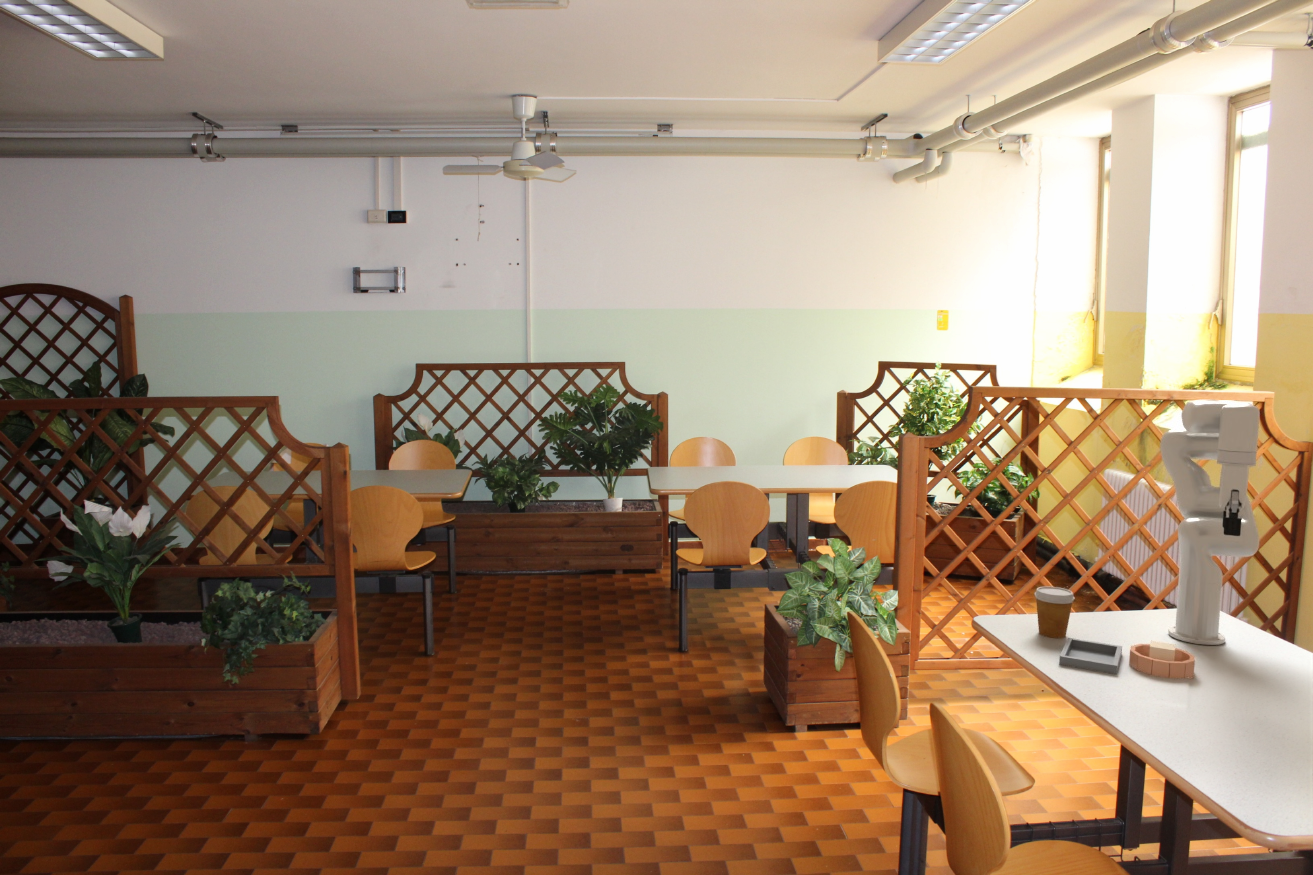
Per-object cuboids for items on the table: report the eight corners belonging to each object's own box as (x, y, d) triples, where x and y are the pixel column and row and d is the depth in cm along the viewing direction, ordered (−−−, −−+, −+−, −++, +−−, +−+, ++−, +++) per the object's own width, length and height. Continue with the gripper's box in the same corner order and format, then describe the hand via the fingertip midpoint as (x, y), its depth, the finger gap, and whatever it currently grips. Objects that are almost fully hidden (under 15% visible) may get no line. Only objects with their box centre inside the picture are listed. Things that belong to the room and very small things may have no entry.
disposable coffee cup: (1074, 634, 232) (1077, 589, 231) (1069, 644, 224) (1072, 597, 223) (1035, 628, 237) (1038, 584, 236) (1029, 637, 229) (1031, 592, 228)
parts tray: (1067, 647, 222) (1068, 637, 222) (1121, 656, 216) (1122, 646, 216) (1059, 666, 209) (1059, 655, 208) (1116, 676, 202) (1117, 665, 202)
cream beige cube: (1149, 661, 210) (1151, 640, 210) (1174, 665, 208) (1175, 644, 207) (1148, 667, 206) (1149, 646, 206) (1173, 671, 204) (1174, 650, 203)
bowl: (1131, 656, 216) (1132, 640, 215) (1193, 666, 209) (1194, 650, 209) (1127, 672, 205) (1128, 655, 204) (1193, 684, 198) (1194, 666, 198)
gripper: (1216, 453, 214) (1211, 523, 215) (1218, 460, 199) (1212, 536, 201) (1254, 455, 210) (1248, 527, 212) (1258, 463, 195) (1252, 540, 197)
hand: (1231, 531), depth 206 cm, fingers open, 9 cm apart
